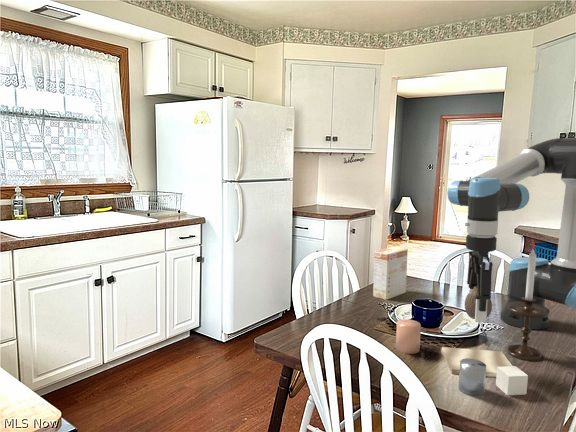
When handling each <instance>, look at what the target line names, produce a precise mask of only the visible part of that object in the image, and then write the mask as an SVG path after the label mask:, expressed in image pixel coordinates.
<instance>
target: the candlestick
mask: <svg viewBox="0 0 576 432" xmlns="http://www.w3.org/2000/svg"><path fill="white" fill-rule="evenodd" d="M530 242H531V252H530V253H528V258H529V261H528V272H527V284H526V295H525V297H522V298H521V299H523V300H525V302H510V303H508V305H507V309H508V310H509V311H510V312H512V313H515V314H518V315H521V316H525V318H524V327H522V328H520V332H521V333H522V335H521V336H520V339H521V341H522V343H521V344H511V345H508V346H507V348H506V352H507V354H508V355H509V356H511V357H512V358H516V359H517V360H521V361H526V362H527V361H528V362H537V361H540V360H541V359H542V355H543V354H542V352H541V351H540V350H538V349H536V348H534V347H531V346H528V343H529V342H528V341H530V340H531V338H530V336H529V335H531V333H532V329H530V328H529V321H530V317H533V318H544V317H547V316H548V317H549V316H550V309H549V308H547V307H546V306H545V307H544V306H541V305H538V304H534V303H533V301H537V300H536V299H534V298H533V287H534V276H535V265H536V258H537V254H536V253H535V248H536V245H535V242H534V238H533V237H532V239H531V241H530Z"/></svg>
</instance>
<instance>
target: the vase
mask: <svg viewBox="0 0 576 432" xmlns="http://www.w3.org/2000/svg"><path fill="white" fill-rule="evenodd" d="M477 296H478V294H477V286H475V287H474V288H473V290H472V291H471V292H470V293H469V292H468V294H467V295H466V297H465V300H464V309H465V313H466V315H467V316H468V317H469V318H470V319H472V320H475V309H476V299H475V297H477ZM492 308H493V303H492V299H488V301H487V318H489V317H490V316H491V313H492Z"/></svg>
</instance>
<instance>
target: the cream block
mask: <svg viewBox="0 0 576 432" xmlns="http://www.w3.org/2000/svg"><path fill="white" fill-rule="evenodd" d="M495 379H496V380H495V386H497V388H498V389H500V390H501V391H502V392H503V393H504V394H505V395H506V396H520V395H521V396H522V395H527V393H528V392H527V391H528V380H529V375H528V374H527V373H525V372H524V371H523V370H521V368H519V367H518V366H516V365H512V366H505V367H497V375H496V377H495Z"/></svg>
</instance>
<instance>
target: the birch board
mask: <svg viewBox="0 0 576 432" xmlns="http://www.w3.org/2000/svg"><path fill="white" fill-rule="evenodd" d="M441 353H442V354H443V358H444V359H445V361H446V364H447V366H448V368H449V371H450V372H451V374H455V375H459V372H460V361H461V360H462V359H465V358H471V359H476V360H479V361H482V362H483V363H485V364H486V377H490V378H496V375H497V367H505V366H513V365H512V363H511V362H510V360H509V359H508V358H507V357H506V355H505V354H504V353H503V351H501V350H500V351H498V350H486V349H474V348H473V349H472V348H457V347H445V346H444V347H443V346H441Z"/></svg>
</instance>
